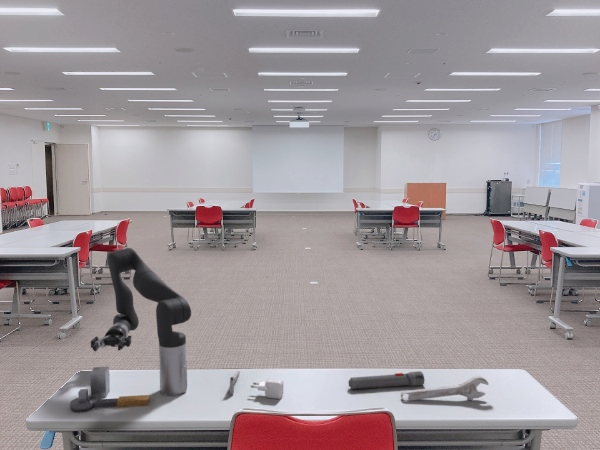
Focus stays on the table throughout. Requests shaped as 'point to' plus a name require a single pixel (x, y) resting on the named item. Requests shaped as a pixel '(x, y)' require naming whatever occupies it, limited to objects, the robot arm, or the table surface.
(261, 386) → the power adapter
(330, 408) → the table surface
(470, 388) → the wrench
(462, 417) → the table surface
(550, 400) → the table surface
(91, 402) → the ratchet
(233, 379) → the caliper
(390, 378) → the flashlight
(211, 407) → the table surface
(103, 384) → the brushed metal block
